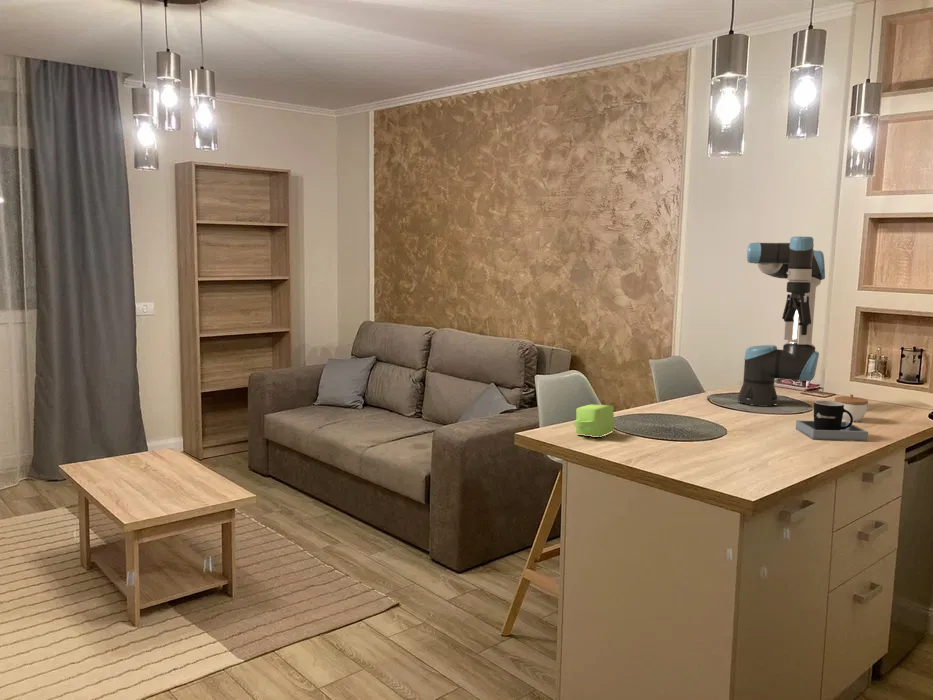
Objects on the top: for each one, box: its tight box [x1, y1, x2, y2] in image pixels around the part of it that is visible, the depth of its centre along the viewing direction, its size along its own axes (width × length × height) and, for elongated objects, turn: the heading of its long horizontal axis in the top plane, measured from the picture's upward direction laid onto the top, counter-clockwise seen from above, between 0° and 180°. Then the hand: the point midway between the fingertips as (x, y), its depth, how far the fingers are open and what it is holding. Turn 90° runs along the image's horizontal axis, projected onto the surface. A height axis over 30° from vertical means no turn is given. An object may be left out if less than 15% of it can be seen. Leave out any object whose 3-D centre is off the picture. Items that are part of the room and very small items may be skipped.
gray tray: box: [795, 419, 869, 442], centre depth 248 cm, size 15×17×3 cm
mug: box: [813, 399, 853, 430], centre depth 247 cm, size 12×9×10 cm
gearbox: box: [573, 403, 615, 437], centre depth 244 cm, size 18×10×10 cm, turn 145°
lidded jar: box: [834, 393, 869, 423], centre depth 271 cm, size 11×11×9 cm
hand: (794, 342), depth 262 cm, fingers open, 13 cm apart
